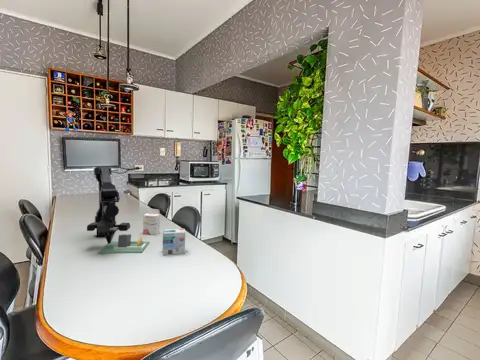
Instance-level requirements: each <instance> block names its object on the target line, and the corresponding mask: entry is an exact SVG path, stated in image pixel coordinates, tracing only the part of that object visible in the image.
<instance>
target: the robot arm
mask: <svg viewBox="0 0 480 360" xmlns="http://www.w3.org/2000/svg"><path fill="white" fill-rule="evenodd" d="M93 175H94V178H95V180H96V182H98V209H97V211H96V212H95V216H94V221H93V222H91V223H89V224H87V225H86V232H93V231H95V230H96V235H95V236H94V237H96V238H105V239H106V242H107V244H110V243H111V242H113V241H112V240H113V237H114V236H115V233H116V232H117V231H119V232H127V231H128V230H129V229H130V228H131V223H130V222H120V224H117V221H116V216H117V215H118V214H119V213H120V212H119V211H120V209H119V206H118V205H116V203H119V201H120V193H119V192H120V191H118V189H117V188H116V185H115V184H113V183H112V178H111V175H113V172H112V167H110V166H96V167H94V168H93Z"/></svg>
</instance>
